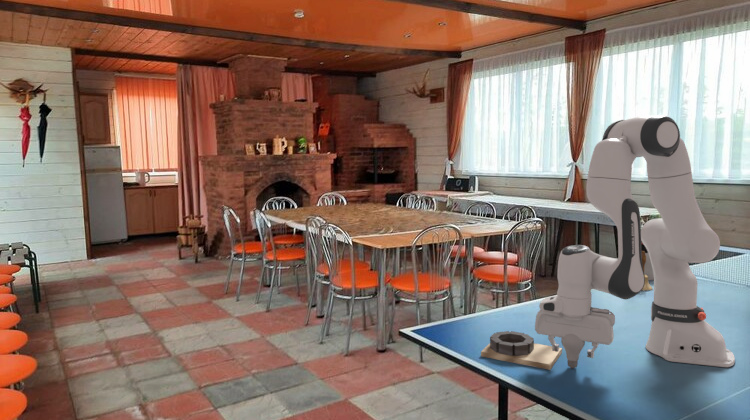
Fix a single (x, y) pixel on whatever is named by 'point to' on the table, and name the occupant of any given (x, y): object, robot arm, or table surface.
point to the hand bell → (647, 285)
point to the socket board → (531, 359)
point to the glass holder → (647, 264)
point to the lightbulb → (572, 349)
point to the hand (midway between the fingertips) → (572, 353)
